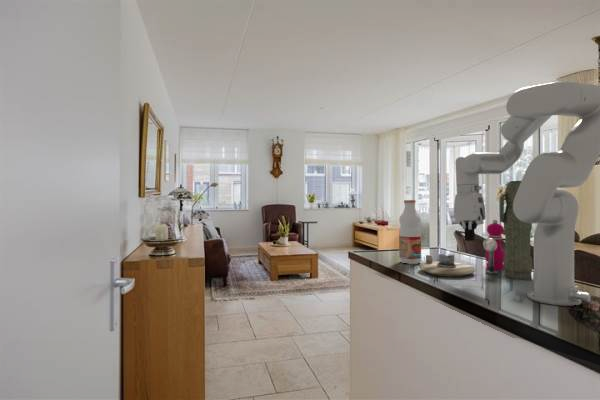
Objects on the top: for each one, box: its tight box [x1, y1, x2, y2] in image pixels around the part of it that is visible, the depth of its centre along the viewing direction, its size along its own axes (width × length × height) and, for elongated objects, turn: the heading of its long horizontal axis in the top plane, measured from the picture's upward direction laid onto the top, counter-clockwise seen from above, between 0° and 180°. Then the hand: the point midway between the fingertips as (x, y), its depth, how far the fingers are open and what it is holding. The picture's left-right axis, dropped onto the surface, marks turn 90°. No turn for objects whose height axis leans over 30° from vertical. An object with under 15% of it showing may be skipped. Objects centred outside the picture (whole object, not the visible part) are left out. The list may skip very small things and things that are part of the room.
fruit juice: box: [398, 199, 422, 265], centre depth 164 cm, size 9×9×28 cm
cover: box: [437, 253, 456, 268], centre depth 143 cm, size 7×7×4 cm
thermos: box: [499, 180, 534, 281], centre depth 133 cm, size 9×12×35 cm
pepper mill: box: [484, 219, 505, 271], centre depth 150 cm, size 7×7×20 cm
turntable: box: [418, 254, 476, 275], centre depth 143 cm, size 20×20×4 cm
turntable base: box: [424, 271, 470, 278], centre depth 143 cm, size 16×16×1 cm
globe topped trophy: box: [482, 238, 498, 275], centre depth 140 cm, size 5×4×14 cm
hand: (469, 240), depth 134 cm, fingers closed
